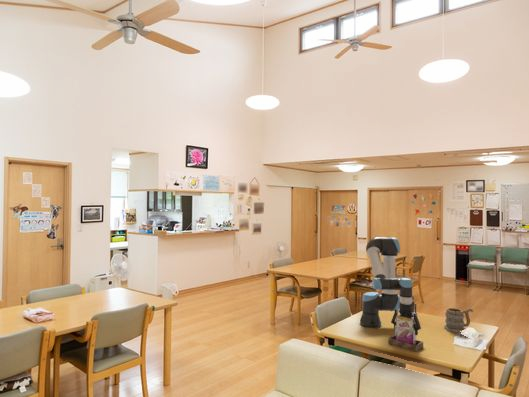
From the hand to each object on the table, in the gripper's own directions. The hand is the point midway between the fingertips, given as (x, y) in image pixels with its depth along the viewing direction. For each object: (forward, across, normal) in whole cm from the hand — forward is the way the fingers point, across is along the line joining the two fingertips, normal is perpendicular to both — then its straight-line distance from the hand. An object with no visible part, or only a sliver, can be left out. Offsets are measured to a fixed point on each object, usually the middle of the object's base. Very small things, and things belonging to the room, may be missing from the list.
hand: (405, 337), depth 241 cm
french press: (+5, -25, +59) cm, 65 cm away
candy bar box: (+3, 0, 0) cm, 3 cm away
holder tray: (+5, 0, 0) cm, 5 cm away
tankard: (+5, +13, +58) cm, 60 cm away
